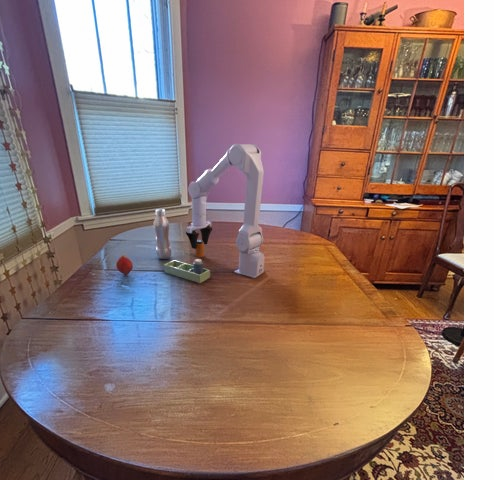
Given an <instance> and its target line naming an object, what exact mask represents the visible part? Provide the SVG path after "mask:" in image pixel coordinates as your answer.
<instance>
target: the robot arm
mask: <svg viewBox="0 0 494 480" xmlns="http://www.w3.org/2000/svg"><path fill="white" fill-rule="evenodd" d="M232 167H235V168H236V169H238V170H239V171H241V172H242V173H243V174H244V175H245V177H246V182H245V183H246V184H245V195H244V196H245V197H244V209H243V223H242V225H241V226H240V229H239V230H238V235H237V237H236V240H235V246H236V248H237V250H238V253H239V255H238V256H239V257H238V268H237V269H236V270H234V271H233V273H235V274H239V275H243V276H247V277H249V278H250V277H251V278H253V279H254V278H258V277H259V276H260V275H261V274H263V273H265V260H266V259H265V258H266V257H265V254H264V253H263V252H261V251H260V247H261V246H262V245H263V243H264V236H263V228H262V227H261V226H260V225H259V224H260V223H259V222H260V212H261V202H262V194H263V193H262V192H263V184H264V175H265V172H264V165H263V162H262V151H261V149H260V148H259V147H258V146H257V145H256V144H254V143H249V144H248V143H247V144H246V143H245V144H241V143H234V144H232V145H231V146H230V148H228V149H227V150H226V153H225V154H224V155H223V157H221V159H219V162H217V164H216V165H215V166H214V167H213V168H208V169H205V170H204V171H203V174H202V175H201V176H199V177H197V179H196V181H191V182H190V183H189V185H188V187H187V189H188V191H187V192H188V195H189V196H190V197H191V221H192V222H190V225H189V226H187V227H186V228H185V229H186V231H185V235H186V236H187V238H188V240H189V242H190V246H191V249H193V250H196V249H197V240H199V235H201V240H202V241H203V243H204V245H208V242H209V238H210V235H211V233H212V231H213V227H212V221H211V220H210V221H209V220H207V200H208V196H209V195H210V190H211V189H213V188H214V187H215V186H216V185H217V184H218V183H219V180H220V177H221V176H222V175H223V174H225V173H226V172H227V171H228V170H229V169H231V168H232ZM199 230H200V233H199V232H197V231H199Z"/></svg>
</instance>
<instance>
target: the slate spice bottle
mask: <svg viewBox="0 0 494 480" xmlns="http://www.w3.org/2000/svg"><path fill="white" fill-rule="evenodd" d="M192 265H193V273H196V274H199V275H200V274H201V273H203V268H204V262H203V261H202V259H201V258H196V259H194V260H193V262H192Z"/></svg>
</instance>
